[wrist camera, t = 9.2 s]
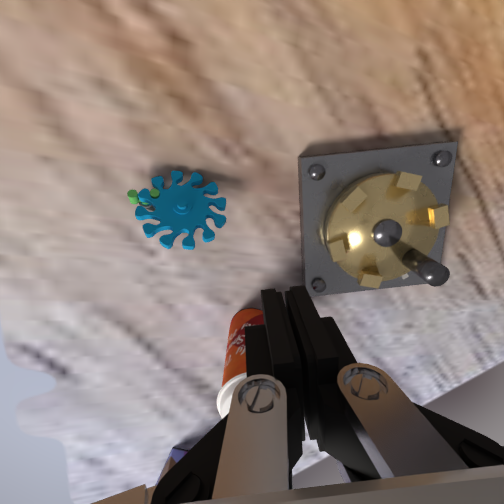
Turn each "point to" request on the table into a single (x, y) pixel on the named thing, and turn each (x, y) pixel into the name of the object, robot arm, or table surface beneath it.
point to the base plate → (341, 176)
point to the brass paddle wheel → (386, 229)
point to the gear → (178, 209)
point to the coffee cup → (236, 356)
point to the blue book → (172, 460)
